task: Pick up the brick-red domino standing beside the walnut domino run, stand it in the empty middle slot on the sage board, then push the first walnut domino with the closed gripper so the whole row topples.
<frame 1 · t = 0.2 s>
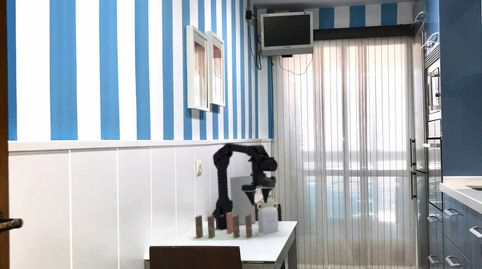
hand: (259, 204, 240), 14 cm above the table, fingers open, 9 cm apart
sage board: (224, 238, 235), on the table
domino 2: (211, 237, 237), resting on sage board
domino 4: (236, 237, 234), resting on sage board
domino 5: (249, 237, 232), resting on sage board
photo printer: (268, 233, 243), on the table
cylinder vase: (244, 223, 275), on the table
domino 1: (199, 237, 238), resting on sage board
character mug: (268, 224, 267), on the table
red domino: (230, 233, 246), on the table
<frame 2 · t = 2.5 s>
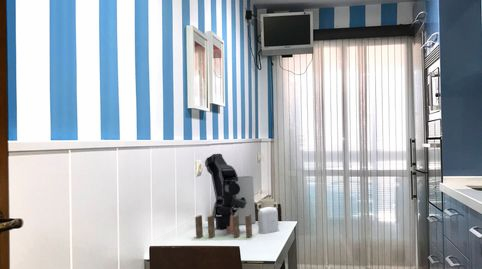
hand: (230, 225, 246), 4 cm above the table, fingers closed on red domino, 5 cm apart
red domino: (230, 233, 246), on the table, touching gripper
everything else where it was.
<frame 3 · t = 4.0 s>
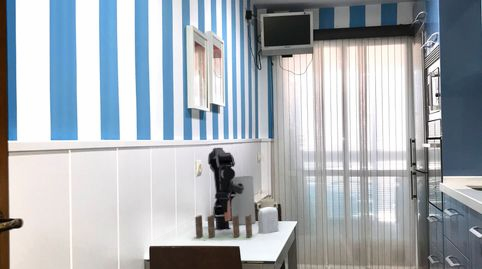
hand: (227, 211, 242), 11 cm above the table, fingers closed on red domino, 5 cm apart
red domino: (228, 220, 242), point 7 cm above the table, touching gripper
everything else where it was.
when the fingers open (6 cm above the table, at t = 5.9 s): red domino stays where it is, resting on sage board.
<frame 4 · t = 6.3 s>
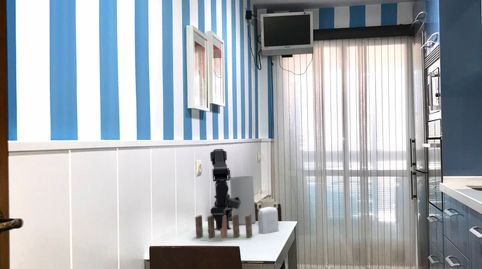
hand: (223, 226, 235), 6 cm above the table, fingers open, 9 cm apart
red domino: (224, 237, 235), resting on sage board
everything else where it was.
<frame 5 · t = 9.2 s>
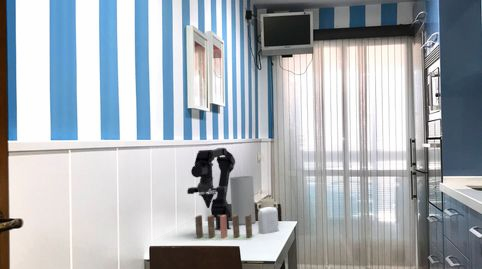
hand: (208, 207, 245), 13 cm above the table, fingers closed
nothing on the table moved.
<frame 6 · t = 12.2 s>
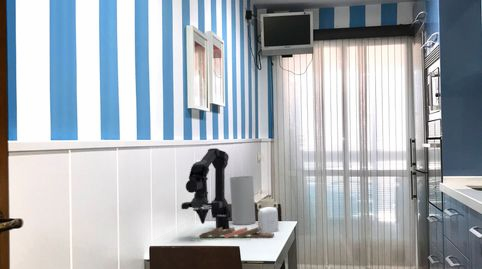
hand: (202, 223, 238), 7 cm above the table, fingers closed
domino 2: (213, 235, 236), point 1 cm above the table, tilted 74°, touching domino 1, red domino, sage board
domino 4: (239, 235, 233), point 1 cm above the table, tilted 73°, touching domino 5, red domino, sage board
domino 5: (251, 235, 232), point 1 cm above the table, tilted 93°, touching domino 4, sage board
domino 1: (201, 235, 238), point 1 cm above the table, tilted 74°, touching domino 2, sage board
red domino: (225, 235, 235), point 1 cm above the table, tilted 75°, touching domino 2, domino 4, sage board
everything else where it was.
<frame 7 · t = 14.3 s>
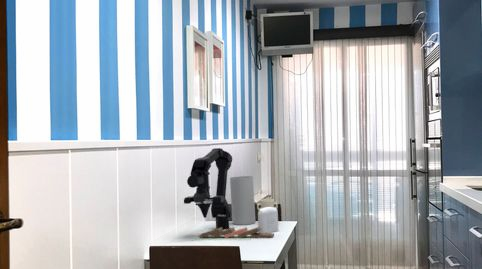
hand: (205, 217, 242), 9 cm above the table, fingers closed
nothing on the table moved.
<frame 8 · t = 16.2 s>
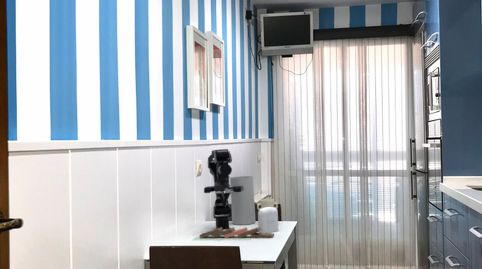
hand: (224, 206, 247), 13 cm above the table, fingers closed
nothing on the table moved.
at the end: domino 5 tilted 93°; red domino tilted 75°; red domino 0.8 cm off-centre on the sage board, point 1.3 cm above the sage board's base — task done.
